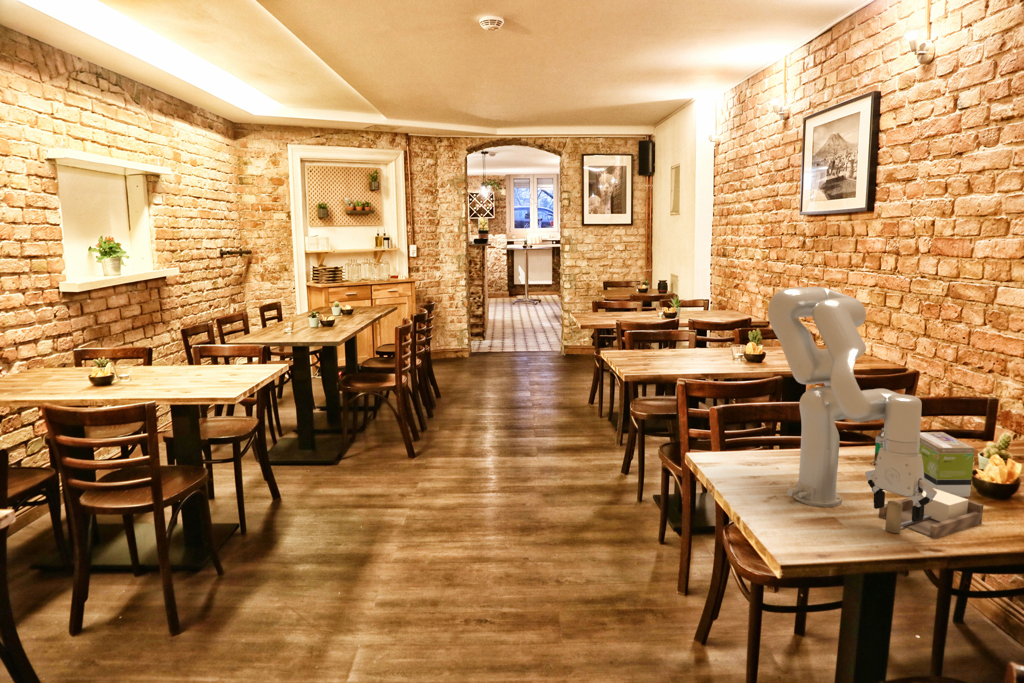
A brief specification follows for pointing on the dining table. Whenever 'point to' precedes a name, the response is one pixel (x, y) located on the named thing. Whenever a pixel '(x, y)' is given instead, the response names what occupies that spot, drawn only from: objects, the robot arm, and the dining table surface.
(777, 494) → the dining table surface
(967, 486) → the tea box
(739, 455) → the dining table surface
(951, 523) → the wooden frame
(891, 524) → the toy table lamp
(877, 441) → the food container
